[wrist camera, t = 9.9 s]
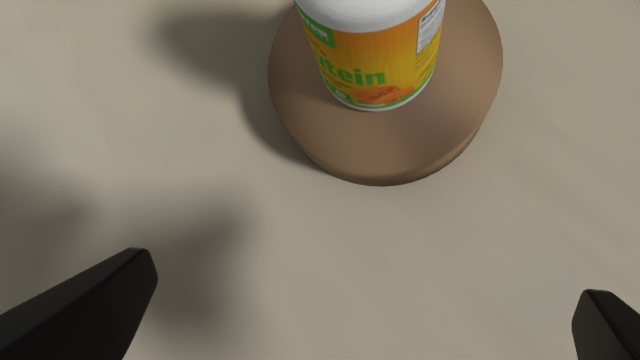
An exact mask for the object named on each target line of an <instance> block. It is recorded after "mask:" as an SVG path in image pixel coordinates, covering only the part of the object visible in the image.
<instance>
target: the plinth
mask: <svg viewBox="0 0 640 360" xmlns="http://www.w3.org/2000/svg"><path fill="white" fill-rule="evenodd" d="M502 67H503V50H502V44H501V38H500V34H499V31H498V28H497V26H496V23H495V21H494V19H493V17H492V15H491V13H490V11H489V10H488V8H487V7H486V5H485V4H484V3H483V1H482V0H446V3H445V9H444V16H443V22H442V29H441V35H440V41H439V47H438V54H437V59H436V63H435V67H434V70H433V73H432V75H431V77H430V79H429V81H428V83H427V84H426V86H425V87H424V88H423V89H422V91H421V92H420V93H419V94H418V95H417V96H415V97H414V98H413V99H412V100H410V101H409V102H407V103H405V104H404V105H402V106H399V107H397V108H394V109H391V110H386V111H378V112H370V111H362V110H358V109H355V108H352V107H350V106H347V105H346V104H344V103H342V102H341V101H340V100H338V99H337V98H336V97H335V96H334V95H333V94H332V93H331V92H330V90H329V89H328V88H327V86H326V84H325V82H324V80H323V78H322V75H321V73H320V70H319V67H318V65H317V62H316V59H315V56H314V53H313V50H312V48H311V45H310V43H309V40H308V38H307V35H306V32H305V29H304V26H303V24H302V21H301V18H300V16H299V13H298V10H297V8H296V5H295V6H294V7H293V8H292V9H291V11H290V12H289V13H288V15H287V16H286V18H285V19H284V21H283V23H282V24H281V26H280V28H279V30H278V32H277V34H276V37H275V39H274V42H273V45H272V49H271V53H270V58H269V66H268V82H269V89H270V95H271V98H272V101H273V104H274V107H275V109H276V111H277V114H278V116H279V118H280V120H281V121H282V123H283V124H284V126H285V127H286V129H287V130H288V131H289V133H290V134H291V136H292V137H293V138H294V140H295V141H296V143H297V144H298V145H299V147H300V148H301V149H302V151H303V152H304V153H305V154H306V155H307V156H308V157H309V158H310V159H311V160H312V161H313V162H314V163H315V164H317V165H318V166H319V167H320V168H322V169H323V170H325V171H327V172H328V173H330V174H332V175H334V176H336V177H338V178H340V179H342V180H346V181H349V182H352V183H355V184H361V185H367V186H382V187H384V186H396V185H402V184H406V183H411V182H414V181H417V180H420V179H423V178H426V177H428V176H430V175H432V174H434V173H436V172H438V171H439V170H441V169H442V168H444V167H445V166H447V165H448V164H450V163H451V162H452V161H453V160H454V159H455V158H457V157H458V156H459V155H460V154H461V153H462V152H463V151H464V150H465V148H466V147H467V146H468V145H469V144H470V142H471V141H472V139H473V138H474V136H475V135H476V133H477V132H478V130H479V128H480V126H481V124H482V122H483V120H484V118H485V116H486V114H487V112H488V111H489V109H490V107H491V104H492V102H493V100H494V98H495V96H496V94H497V90H498V87H499V84H500V80H501V74H502Z"/></svg>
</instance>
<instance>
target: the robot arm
mask: <svg viewBox="0 0 640 360" xmlns="http://www.w3.org/2000/svg"><path fill="white" fill-rule="evenodd" d="M157 282H158V275H157V271H156V268H155V266H154V263H153V260H152V257H151V254H150V252H149V251H148V250H147V249H144V248H134V247H132V248H127V249H125V250H123V251H121V252H120V253H118V254H116V255H114V256H112V257H110V258H108V259H106V260H104V261H102V262H100V263H98V264H97V265H95V266H93V267H91V268H89V269H87V270H85V271H83V272H81V273H79V274H77V275H75V276H74V277H72V278H70V279H68V280H66V281H64V282H62V283H60V284H58V285H56V286H54V287H52V288H51V289H49V290H47V291H45V292H43V293H41V294H39V295H37V296H35V297H33V298H31V299H29V300H28V301H26V302H24V303H22V304H20V305H18V306H16V307H14V308H12V309H10V310H8V311H6V312H5V313H3V314H1V315H0V360H122V359H123V357H124V355H125V354H126V352H127V350H128V348H129V346H130V344H131V342H132V340H133V338H134V336H135V333H136V331H137V329H138V327H139V324H140V322H141V320H142V318H143V315H144V313H145V311H146V309H147V306H148V304H149V302H150V300H151V297H152V295H153V293H154V291H155V288H156V286H157ZM572 334H573V338H574V343H575V347H576V352H577V356H578V360H640V314H639V313H637V312H636V311H635V310H634V309H632V308H631V307H630V306H629V305H627V304H626V303H625V302H624V301H622V300H621V299H620V298H619V297H617V296H616V295H615V294H613V293H612V292H610V291H605V290H594V289H586V290H584V291H583V292H582V294H581V296H580V299H579V302H578V304H577V307H576V310H575V313H574V315H573V318H572Z"/></svg>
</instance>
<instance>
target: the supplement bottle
mask: <svg viewBox="0 0 640 360" xmlns="http://www.w3.org/2000/svg"><path fill="white" fill-rule="evenodd" d="M294 3H295V5H296V8H297V10H298V13H299V16H300V18H301V21H302V24H303V26H304V29H305V32H306V35H307V38H308V40H309V43H310V45H311V48H312V50H313V53H314V56H315V59H316V62H317V65H318V67H319V70H320V73H321V75H322V78H323V80H324V82H325V84H326V86H327V88H328V89H329V90H330V92H331V93H332V94H333V95H334V96H335V97H336V98H337V99H338V100H340V101H341V102H342V103H344V104H346V105H347V106H350V107H352V108H355V109H358V110H362V111H370V112H378V111H386V110H391V109H394V108H397V107H399V106H402V105H404V104H405V103H407V102H409V101H410V100H412V99H413V98H414V97H415V96H417V95H418V94H419V93H420V92H421V91H422V89H423V88H424V87H425V86H426V84H427V83H428V81H429V79H430V77H431V75H432V73H433V70H434V67H435V63H436V59H437V54H438V47H439V41H440V35H441V29H442V22H443V16H444V9H445V3H446V0H294Z"/></svg>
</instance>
